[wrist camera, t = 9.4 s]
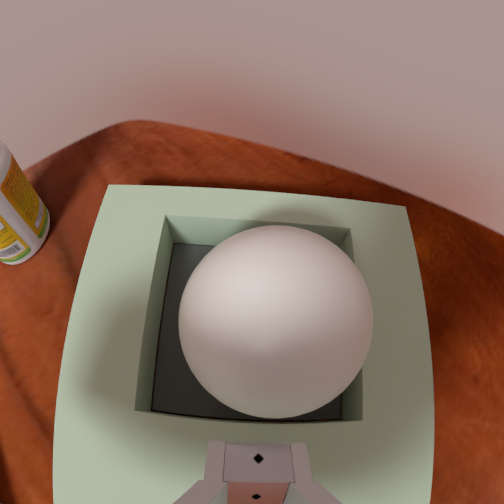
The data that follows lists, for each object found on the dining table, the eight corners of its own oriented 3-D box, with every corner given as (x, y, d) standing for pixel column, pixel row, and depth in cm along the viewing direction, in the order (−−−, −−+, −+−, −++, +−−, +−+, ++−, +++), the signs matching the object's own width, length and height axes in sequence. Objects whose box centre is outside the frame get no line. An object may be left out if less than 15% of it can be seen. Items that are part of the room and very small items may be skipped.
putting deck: (387, 232, 21) (405, 206, 18) (388, 579, 9) (410, 597, 7) (121, 213, 20) (108, 184, 17) (84, 569, 9) (64, 587, 6)
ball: (407, 380, 13) (277, 383, 18) (379, 212, 14) (255, 253, 19) (319, 470, 7) (161, 427, 12) (271, 175, 8) (133, 249, 14)
